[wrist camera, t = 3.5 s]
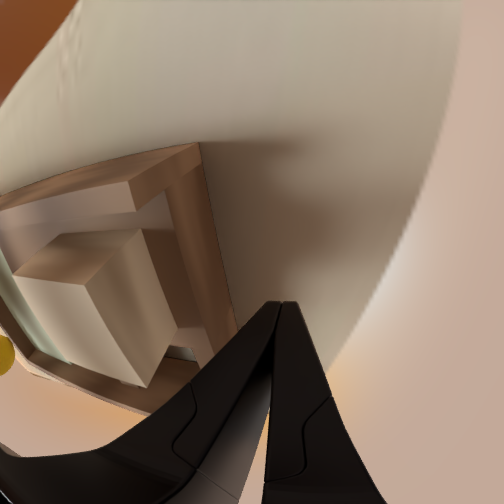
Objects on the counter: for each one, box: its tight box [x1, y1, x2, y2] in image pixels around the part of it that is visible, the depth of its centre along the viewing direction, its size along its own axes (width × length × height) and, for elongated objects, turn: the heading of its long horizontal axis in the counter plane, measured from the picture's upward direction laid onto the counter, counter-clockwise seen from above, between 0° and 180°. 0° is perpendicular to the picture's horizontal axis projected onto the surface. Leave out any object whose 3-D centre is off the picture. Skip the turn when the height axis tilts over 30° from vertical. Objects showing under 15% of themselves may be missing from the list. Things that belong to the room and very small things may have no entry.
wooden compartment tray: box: [0, 142, 238, 417], centre depth 14 cm, size 20×14×4 cm
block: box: [12, 229, 178, 388], centre depth 9 cm, size 4×4×3 cm
